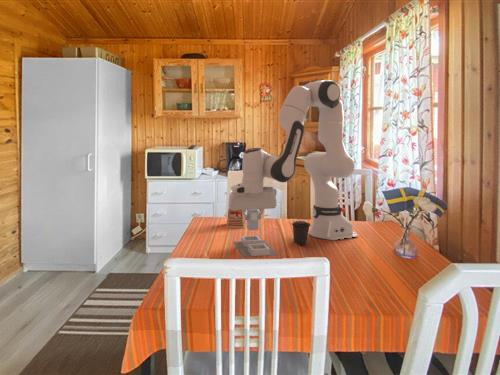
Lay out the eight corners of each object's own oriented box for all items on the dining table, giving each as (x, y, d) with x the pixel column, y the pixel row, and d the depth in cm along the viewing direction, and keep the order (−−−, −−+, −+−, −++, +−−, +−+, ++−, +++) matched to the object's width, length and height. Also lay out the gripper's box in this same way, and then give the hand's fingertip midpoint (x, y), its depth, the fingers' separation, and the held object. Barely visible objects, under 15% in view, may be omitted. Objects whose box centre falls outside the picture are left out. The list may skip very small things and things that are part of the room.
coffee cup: (290, 241, 180) (291, 219, 178) (308, 241, 180) (309, 220, 178) (291, 246, 172) (292, 224, 170) (310, 247, 172) (311, 224, 170)
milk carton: (244, 228, 200) (245, 188, 197) (226, 227, 201) (226, 188, 197) (245, 223, 209) (246, 185, 206) (227, 223, 210) (228, 185, 206)
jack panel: (264, 242, 177) (264, 234, 176) (278, 257, 158) (278, 248, 157) (232, 244, 173) (233, 236, 173) (243, 259, 154) (243, 250, 154)
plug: (255, 227, 173) (256, 209, 171) (258, 230, 168) (258, 211, 167) (246, 228, 172) (246, 209, 171) (249, 231, 167) (249, 212, 166)
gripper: (274, 185, 173) (273, 216, 175) (227, 186, 168) (227, 218, 170) (278, 187, 167) (278, 219, 169) (230, 189, 162) (230, 222, 164)
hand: (252, 219), depth 170 cm, fingers closed on plug, 4 cm apart
